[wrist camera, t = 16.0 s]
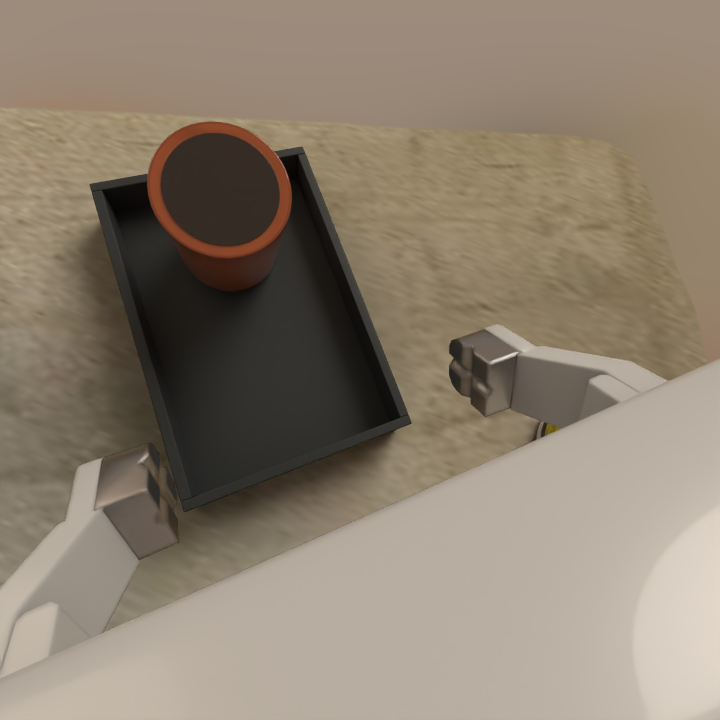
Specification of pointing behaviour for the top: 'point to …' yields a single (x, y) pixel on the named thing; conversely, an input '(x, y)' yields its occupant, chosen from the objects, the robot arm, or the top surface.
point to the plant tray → (250, 346)
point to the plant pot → (221, 202)
